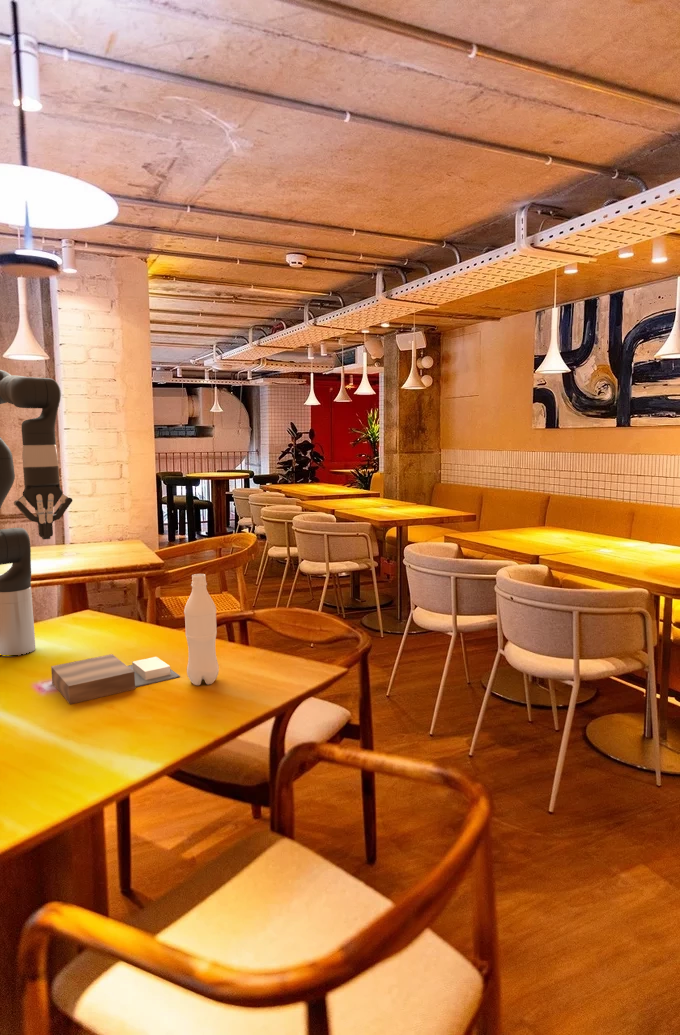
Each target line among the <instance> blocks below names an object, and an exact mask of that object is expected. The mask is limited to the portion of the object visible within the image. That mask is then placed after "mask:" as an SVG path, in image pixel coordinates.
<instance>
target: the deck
mask: <svg viewBox="0 0 680 1035" xmlns="http://www.w3.org/2000/svg"><path fill="white" fill-rule="evenodd" d="M128 666H129V665H127V664H126V663H124V662H123V661H121V660H120V659H119V658H118V657H117V656H115V655H114V654H112V653H111V654H106V655H102V656H97V657H91V658H87V659H82V660H76V661H75V660H74V661H71V662H66V663H61V664H56V665H51V666H50V669H51V670H50V671H51V683H52V685H53V686H54V687H55V688H56V689H57V691H59V692H58V693H60V694H61V695H62V696H63V698H64V699H65V700H66V702H68V704H69V705H74V704H77V703H81V702H86V701H91V700H95V699H98V698H102V697H107V696H110V695H111V696H112V695H115V694H120V693H125V692H128V691H133V690H136V687H135V676H134V671H133V670H131V669H130V668H129V667H128Z"/></svg>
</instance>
